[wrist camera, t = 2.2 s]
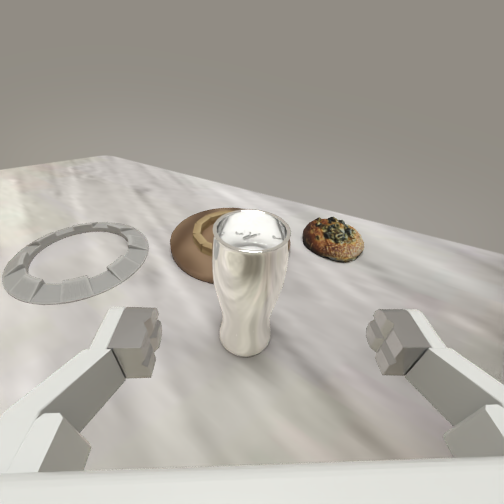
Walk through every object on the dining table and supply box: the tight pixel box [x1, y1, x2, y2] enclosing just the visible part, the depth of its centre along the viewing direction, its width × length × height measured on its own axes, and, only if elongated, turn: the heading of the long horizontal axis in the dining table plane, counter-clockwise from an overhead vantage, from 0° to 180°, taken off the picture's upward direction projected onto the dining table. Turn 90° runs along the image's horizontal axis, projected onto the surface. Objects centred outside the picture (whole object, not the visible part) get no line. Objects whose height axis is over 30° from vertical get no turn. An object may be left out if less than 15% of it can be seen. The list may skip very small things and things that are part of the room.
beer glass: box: [212, 209, 291, 357], centre depth 26 cm, size 7×7×15 cm
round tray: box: [170, 208, 290, 284], centre depth 44 cm, size 20×20×3 cm
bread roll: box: [303, 217, 364, 262], centre depth 46 cm, size 11×11×5 cm
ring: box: [2, 222, 149, 305], centre depth 40 cm, size 19×19×2 cm
